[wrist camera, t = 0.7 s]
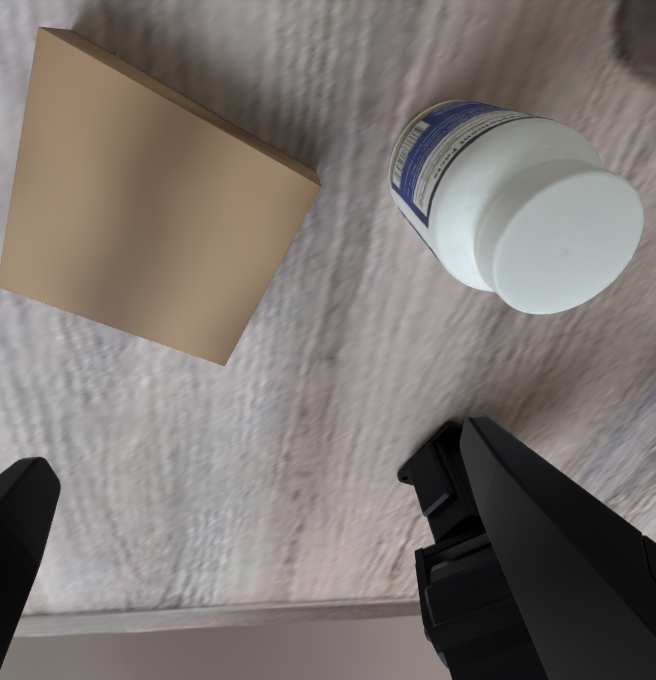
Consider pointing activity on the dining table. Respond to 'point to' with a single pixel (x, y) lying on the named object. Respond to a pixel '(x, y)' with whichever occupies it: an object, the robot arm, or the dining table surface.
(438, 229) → the pill bottle
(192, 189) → the tan slab
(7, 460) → the dining table surface
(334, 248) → the dining table surface
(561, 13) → the dining table surface
